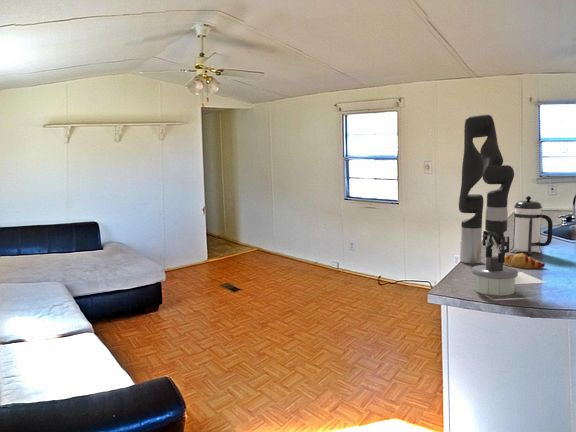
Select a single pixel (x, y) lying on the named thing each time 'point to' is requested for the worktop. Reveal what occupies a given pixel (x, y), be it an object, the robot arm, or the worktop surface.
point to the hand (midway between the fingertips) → (494, 260)
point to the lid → (494, 270)
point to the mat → (526, 279)
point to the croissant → (522, 261)
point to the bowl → (494, 286)
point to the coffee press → (529, 226)
